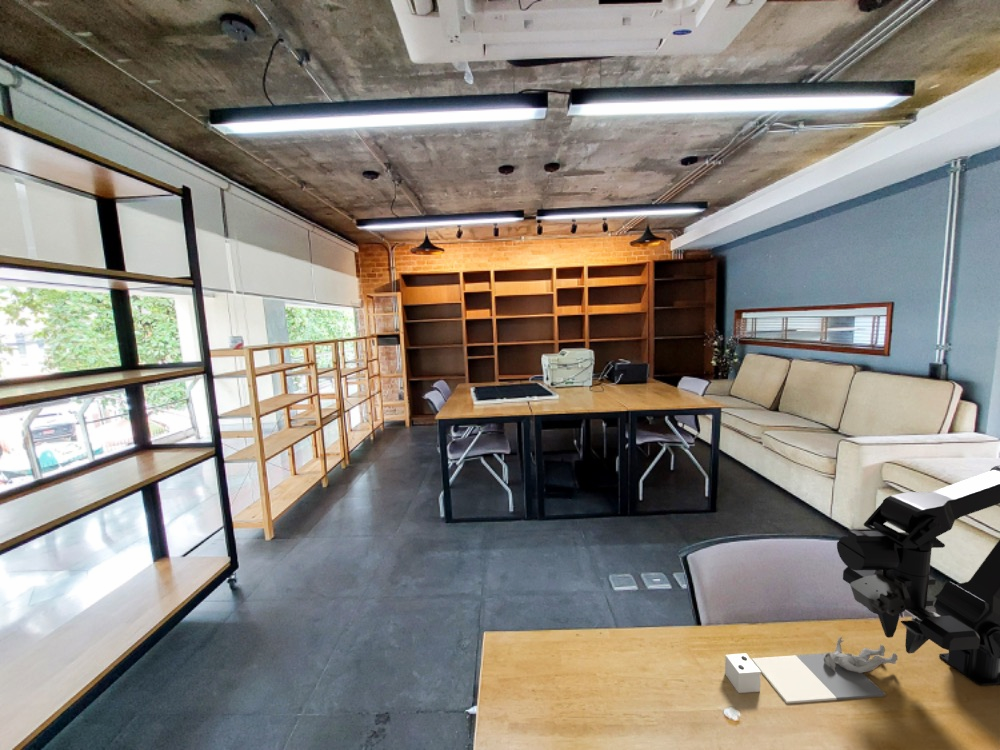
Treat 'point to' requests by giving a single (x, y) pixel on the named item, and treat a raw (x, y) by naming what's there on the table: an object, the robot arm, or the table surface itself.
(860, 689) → the board
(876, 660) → the soldier figure
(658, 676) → the table surface
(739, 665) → the die
